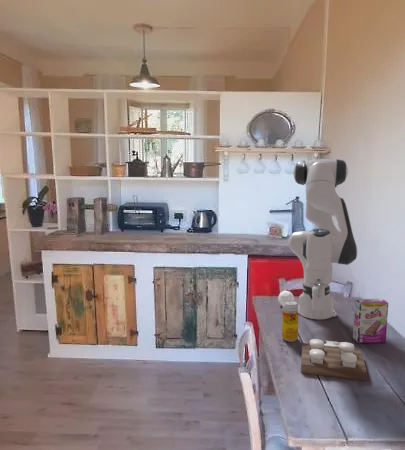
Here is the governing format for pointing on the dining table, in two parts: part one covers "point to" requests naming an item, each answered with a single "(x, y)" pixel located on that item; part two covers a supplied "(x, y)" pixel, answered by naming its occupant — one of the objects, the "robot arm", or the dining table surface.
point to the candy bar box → (370, 320)
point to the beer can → (290, 321)
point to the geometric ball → (285, 297)
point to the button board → (333, 364)
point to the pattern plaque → (331, 343)
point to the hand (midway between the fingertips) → (317, 314)
